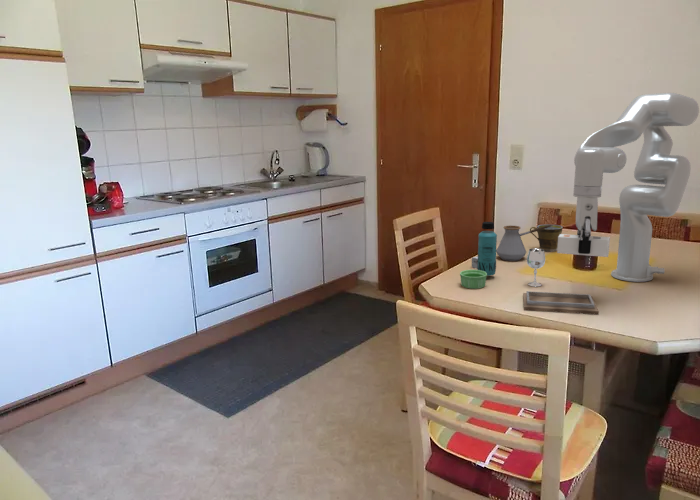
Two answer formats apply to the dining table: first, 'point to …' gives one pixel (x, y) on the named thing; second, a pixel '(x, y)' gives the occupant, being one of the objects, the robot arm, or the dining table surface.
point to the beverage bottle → (487, 249)
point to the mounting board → (559, 302)
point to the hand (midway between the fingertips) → (582, 250)
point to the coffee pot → (514, 243)
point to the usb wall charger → (474, 262)
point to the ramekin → (473, 279)
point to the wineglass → (535, 262)
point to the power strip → (571, 244)
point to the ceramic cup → (548, 237)
